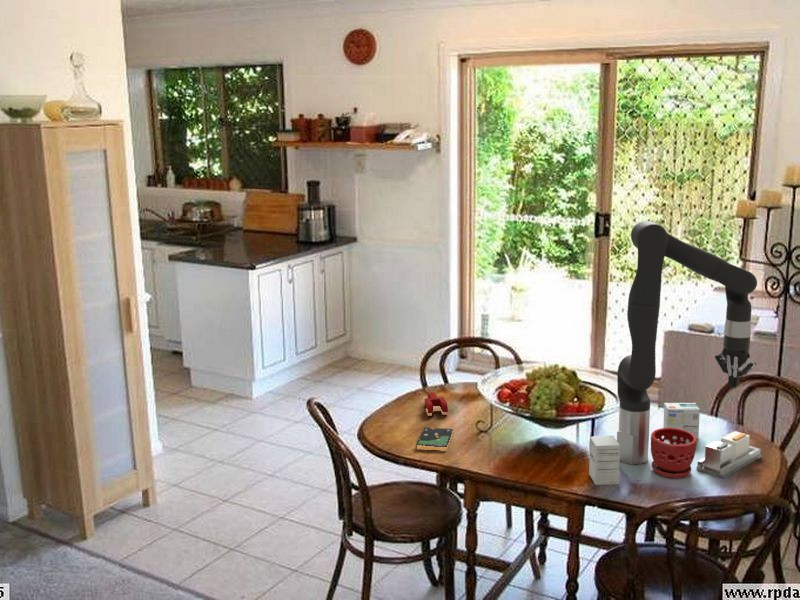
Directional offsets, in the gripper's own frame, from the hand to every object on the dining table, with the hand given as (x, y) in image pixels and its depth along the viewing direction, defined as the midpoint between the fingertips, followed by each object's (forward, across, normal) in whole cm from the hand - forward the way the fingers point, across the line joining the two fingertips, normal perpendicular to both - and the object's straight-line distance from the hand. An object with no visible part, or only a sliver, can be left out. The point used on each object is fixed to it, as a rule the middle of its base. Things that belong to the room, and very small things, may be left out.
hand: (733, 387), depth 260 cm
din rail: (+23, +3, -5) cm, 24 cm away
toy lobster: (+24, -95, -41) cm, 106 cm away
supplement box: (+24, -16, -42) cm, 51 cm away
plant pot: (+23, -5, -23) cm, 33 cm away
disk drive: (+24, -72, -61) cm, 97 cm away
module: (+22, +3, -2) cm, 22 cm away
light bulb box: (+23, -20, +4) cm, 31 cm away
